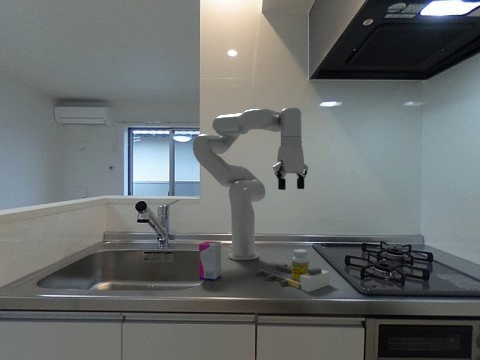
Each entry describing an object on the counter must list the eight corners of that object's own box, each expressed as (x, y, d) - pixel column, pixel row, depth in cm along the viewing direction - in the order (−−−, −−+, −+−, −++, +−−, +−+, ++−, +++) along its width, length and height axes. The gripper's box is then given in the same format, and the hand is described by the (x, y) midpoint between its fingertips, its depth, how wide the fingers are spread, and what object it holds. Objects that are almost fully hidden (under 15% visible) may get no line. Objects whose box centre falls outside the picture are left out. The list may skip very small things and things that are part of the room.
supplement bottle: (311, 280, 96) (311, 249, 96) (306, 285, 91) (306, 253, 91) (295, 277, 99) (295, 248, 98) (289, 282, 94) (289, 251, 94)
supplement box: (221, 275, 102) (221, 241, 102) (215, 281, 97) (215, 245, 97) (206, 273, 104) (205, 240, 104) (198, 279, 98) (198, 244, 98)
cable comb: (252, 274, 103) (252, 258, 103) (282, 266, 111) (282, 252, 111) (302, 294, 85) (302, 275, 85) (334, 283, 93) (334, 266, 93)
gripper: (299, 144, 119) (300, 188, 119) (266, 142, 109) (266, 189, 109) (314, 143, 113) (315, 188, 113) (281, 140, 103) (281, 190, 103)
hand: (291, 189), depth 111 cm, fingers open, 9 cm apart
